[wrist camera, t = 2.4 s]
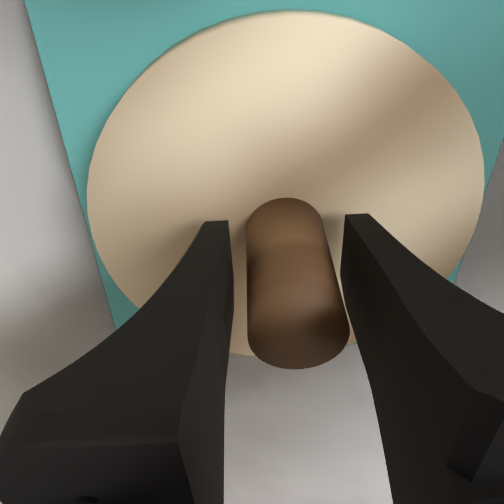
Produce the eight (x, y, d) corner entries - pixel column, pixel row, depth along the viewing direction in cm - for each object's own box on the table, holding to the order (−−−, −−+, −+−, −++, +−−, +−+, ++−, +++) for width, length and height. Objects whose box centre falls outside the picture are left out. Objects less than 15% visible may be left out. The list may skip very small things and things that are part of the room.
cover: (554, 145, 12) (702, 254, 8) (326, 369, 18) (350, 497, 14) (192, -102, 9) (153, -115, 5) (52, 268, 15) (-18, 400, 11)
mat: (544, -24, 10) (558, -20, 10) (427, 331, 18) (432, 342, 17) (30, -17, 10) (20, -14, 10) (124, 336, 18) (120, 348, 17)
